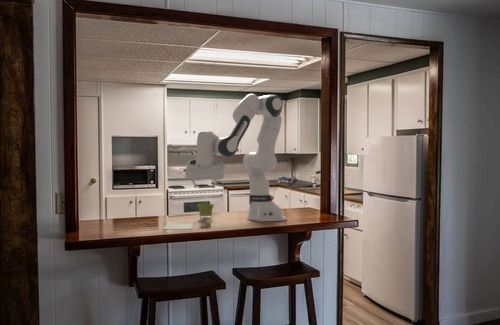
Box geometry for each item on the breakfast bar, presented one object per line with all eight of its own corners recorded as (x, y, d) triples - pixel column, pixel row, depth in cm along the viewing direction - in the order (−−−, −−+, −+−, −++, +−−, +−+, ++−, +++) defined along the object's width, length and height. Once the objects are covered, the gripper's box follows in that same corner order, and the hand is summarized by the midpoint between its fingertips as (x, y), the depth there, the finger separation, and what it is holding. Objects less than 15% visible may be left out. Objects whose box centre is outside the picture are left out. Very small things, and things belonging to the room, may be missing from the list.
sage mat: (193, 224, 230) (193, 223, 230) (190, 229, 216) (190, 228, 216) (167, 224, 229) (167, 224, 229) (163, 229, 215) (163, 229, 215)
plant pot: (211, 218, 250) (211, 203, 249) (215, 220, 241) (215, 205, 241) (196, 219, 247) (196, 204, 246) (199, 221, 238) (199, 206, 238)
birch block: (210, 225, 227) (210, 215, 227) (210, 226, 222) (210, 217, 222) (201, 225, 227) (201, 215, 227) (200, 226, 222) (200, 217, 222)
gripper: (224, 161, 228) (224, 187, 228) (186, 161, 227) (186, 186, 228) (224, 162, 221) (223, 188, 222) (184, 161, 221) (184, 187, 221)
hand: (204, 187), depth 225 cm, fingers open, 8 cm apart
